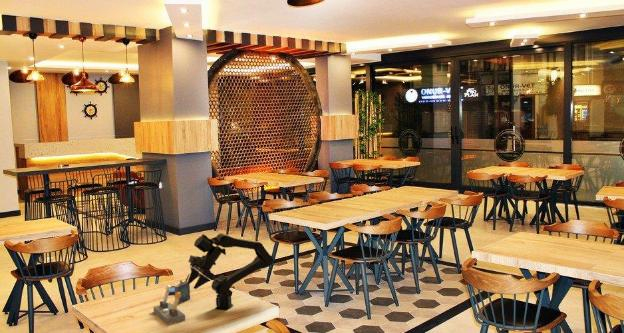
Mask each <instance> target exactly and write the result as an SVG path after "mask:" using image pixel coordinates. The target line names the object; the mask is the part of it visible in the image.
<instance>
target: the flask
mask: <svg viewBox="0 0 624 333" xmlns="http://www.w3.org/2000/svg"><path fill="white" fill-rule="evenodd" d="M187 282H188V280H187V281H185V280H184V281H183V280H182V279H180V280H179V283H178V284H175V285H173V286H174V288H175V294H176V293H177V292H180V293H181V297H180V298H179V301H178V304H177V305H179V304H182V303H185V302H186V301H189V300H191V290H190V289H191V288H190V286H191V284H188V283H187ZM175 298H176V296H175V295H174V299H175Z"/></svg>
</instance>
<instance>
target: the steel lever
mask: <svg viewBox="0 0 624 333" xmlns="http://www.w3.org/2000/svg"><path fill="white" fill-rule="evenodd" d="M171 286H172V285H170V284H167V285H166V286H165V293H164V297H163V299H162V301H163V303H168V302H167V301H168V298H169V295H168V294H169V291H170V290H171ZM163 303H162V304H163Z"/></svg>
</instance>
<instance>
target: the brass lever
mask: <svg viewBox="0 0 624 333" xmlns="http://www.w3.org/2000/svg"><path fill="white" fill-rule="evenodd" d="M175 296H176V298H175ZM180 297H181V293H180V292H177V293H176V294H175V295H174V302H173V309H172V311H176V308H177V309H178V305H179V304H178V301H179V298H180ZM172 311H171V313H172Z"/></svg>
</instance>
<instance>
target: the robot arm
mask: <svg viewBox="0 0 624 333" xmlns="http://www.w3.org/2000/svg"><path fill="white" fill-rule="evenodd" d="M213 244H214V245H213ZM193 245H194V247H195V248H196V249H197V250H199V251H201V252H202V253H206V254H205V255H204V254H203V255H202V256H199V255H196V256H195V255H191V254H190V255H189V259H188V263H190V264H189V268H190V273H189V277H188V280H187V281H188V282H187V283H188V284H189V285H191V284H192V283H193V282H194V281H195V280H196V279H197V281H196V282H195V284H194V286H193V289H194V290H196V289H198V288H200V287H202V286H203V285H205V284H206V283H208V282H211V281H212V282H211V289H212V290H213V291H214V292H215V294H216V298H215V306H216V307H215V309H216V310H224V311H227V310H230V309H231V308H232V307H233V306H234V304H233V303H232V296H233V290H231V288H232V286H233V285H235V284H236V283H238V282H239V281H241V280H243V279H245V278H246V277H248V276H250V275H252V274H253V273H255V272H256V271H258V270H263V269H266V268H269V267H271V266H272V265H273V264H274V263H273V262H274V257H273V256H272V255H271V254H270V253H269V252H268V250H267V249H266V248H265V246H264V245H263V243H262V242H260V241H254V240H249V239H241V238H237V237H233V236H231V235H227V234H224V233H218V234H217V235H216V236H214V237H212V238H210V237H208V236H207V235H206V234H203V233H202V235H201V236H199V237H198V238H196V239H195V241H194V244H193ZM226 248H242V249H250V250H254V252H255V255H256V256H255V258H254V259H253V260H252V261H251V262H249V263H248V264H246V265H245V266H243V267H241V268H239V269H238V270H236V271H234V272H233V273H231V274H229V275H227V276H226V275H224V274H221V275H219V276H218V277H216V278H215V274H214V273H213V272H212V271H211V269H212V268H213V266H216V264H217V263H216V262H217V260H218V259H219V258H220V257H221V254H223V255H224V256H226V255H227V252H226Z"/></svg>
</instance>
